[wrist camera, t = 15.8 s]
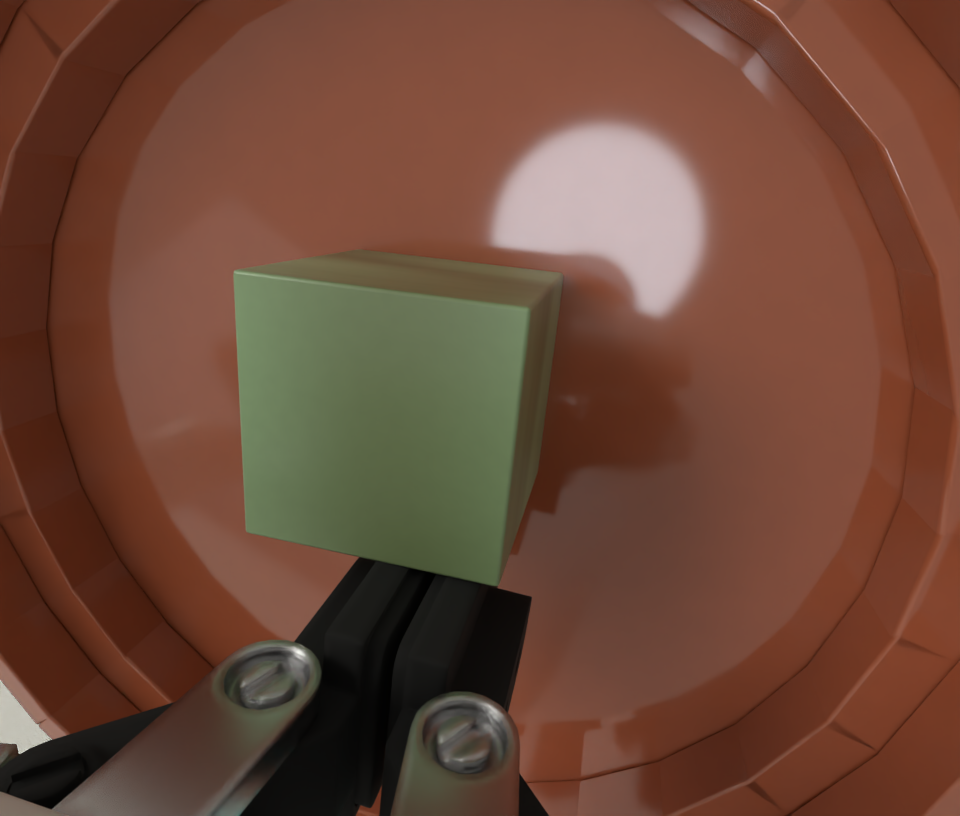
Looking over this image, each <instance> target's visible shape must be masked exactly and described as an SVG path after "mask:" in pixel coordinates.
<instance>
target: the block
mask: <svg viewBox="0 0 960 816" xmlns="http://www.w3.org/2000/svg"><path fill="white" fill-rule="evenodd" d="M563 278H564V276H563V274H562V273H558V272H550V271H541V270H533V269H524V268H516V267H507V266H498V265H490V264H481V263H473V262H464V261H455V260H447V259H438V258H430V257H421V256H412V255H404V254H395V253H387V252H378V251H370V250H361V249H357V250H351V251H345V252H339V253H333V254H327V255H321V256H315V257H309V258H303V259H297V260H291V261H285V262H279V263H273V264H267V265H261V266H255V267H249V268H243V269H238V270H235V271H234V273H233V279H234V299H235V319H236V340H237V360H238V381H239V401H240V422H241V442H242V463H243V483H244V504H245V524H246V532H248V533H251V534H255V535H260V536H264V537H269V538H274V539H278V540H283V541H288V542H292V543H297V544H301V545H306V546H311V547H315V548H320V549H324V550H329V551H334V552H338V553H343V554H347V555H352V556H357V557H361V558H366V559H370V560H375V561H380V562H384V563H389V564H393V565H398V566H403V567H407V568H412V569H416V570H421V571H426V572H430V573H435V574H439V575H444V576H449V577H453V578H458V579H462V580H467V581H472V582H476V583H481V584H485V585H490V586H498V585H499V584H500V581H501V578H502V575H503V573H504V570H505V567H506V564H507V561H508V558H509V555H510V552H511V549H512V546H513V543H514V540H515V537H516V534H517V531H518V528H519V525H520V523H521V520H522V517H523V514H524V511H525V508H526V505H527V502H528V499H529V496H530V493H531V490H532V487H533V484H534V481H535V478H536V475H537V473H538V466H539V459H540V451H541V444H542V436H543V429H544V421H545V413H546V406H547V398H548V391H549V383H550V376H551V368H552V361H553V353H554V346H555V338H556V331H557V323H558V316H559V308H560V300H561V293H562V285H563Z"/></svg>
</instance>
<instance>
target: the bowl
mask: <svg viewBox="0 0 960 816" xmlns="http://www.w3.org/2000/svg"><path fill="white" fill-rule="evenodd" d="M357 249H361V250H370V251H378V252H387V253H395V254H404V255H412V256H421V257H430V258H438V259H447V260H455V261H464V262H473V263H481V264H490V265H498V266H507V267H516V268H524V269H533V270H541V271H550V272H558V273H562V274H563V276H564V278H563V285H562V293H561V300H560V308H559V316H558V323H557V331H556V338H555V346H554V353H553V361H552V368H551V376H550V383H549V391H548V398H547V406H546V413H545V421H544V429H543V436H542V444H541V451H540V459H539V466H538V473H537V475H536V478H535V481H534V484H533V487H532V490H531V493H530V496H529V499H528V502H527V505H526V508H525V511H524V514H523V517H522V520H521V523H520V525H519V528H518V531H517V534H516V537H515V540H514V543H513V546H512V549H511V552H510V555H509V558H508V561H507V564H506V567H505V570H504V573H503V575H502V578H501V581H500V584H499V585H498V587H497V588H499V589H503V590H507V591H511V592H515V593H519V594H523V595H527V596H531V597H532V601H531V607H530V612H529V618H528V623H527V629H526V634H525V639H524V644H523V649H522V654H521V659H520V664H519V668H518V673H517V677H516V681H515V686H514V690H513V694H512V698H511V702H510V707H509V711H508V713H509V714H510V715H511V717H512V719H513V721H514V723H515V725H516V726H517V728H518V733H519V740H520V772H519V773H520V775H521V776H522V777H523V779H524V780H525V782H526V783H527V785H528V786H529V788H530V789H531V790H532V792H533V793H534V795H535V796H536V798H537V799H538V800H539V802H540V803H541V805H542V806H543V808H544V809H545V810H546V812H547V813H548V815H549V816H960V0H0V680H1V681H2V683H3V684H4V685H5V686H6V687H7V689H8V690H9V691H10V692H11V694H12V695H13V696H14V697H15V699H16V700H17V701H18V702H19V703H20V705H21V706H22V707H23V708H24V710H25V711H26V712H27V713H28V714H29V716H30V717H31V718H32V719H33V721H34V722H35V723H36V724H39V727H40V728H41V729H42V730H43V731H44V732H45V733H46V734H47V735H48V736H49V737H50V738H51V739H52V740H53V739H56V738H59V737H63V736H66V735H69V734H72V733H76V732H79V731H82V730H85V729H89V728H92V727H95V726H98V725H102V724H105V723H108V722H111V721H115V720H118V719H121V718H124V717H128V716H131V715H134V714H137V713H141V712H144V711H147V710H150V709H154V708H157V707H160V706H164V705H167V704H170V703H173V702H176V701H177V700H178V699H179V698H181V697H182V696H183V695H184V694H185V693H186V692H187V691H189V690H190V689H191V688H192V687H193V686H194V685H195V684H197V683H198V682H199V681H200V680H201V679H202V678H204V677H205V676H206V675H207V674H208V673H209V672H210V671H212V670H213V669H214V668H215V667H216V666H217V665H218V664H220V663H221V662H222V661H223V660H224V659H225V658H227V657H228V656H229V655H231V654H232V653H234V652H235V651H237V650H238V649H240V648H242V647H245V646H247V645H250V644H252V643H255V642H260V641H266V640H288V641H292V642H294V641H295V640H296V638H297V637H298V636H299V635H300V633H301V632H302V631H303V629H304V628H305V627H306V625H307V624H308V623H309V622H310V620H311V619H312V618H313V616H314V615H315V614H316V612H317V611H318V610H319V609H320V607H321V606H322V605H323V603H324V602H325V601H326V599H327V598H328V597H329V595H330V594H331V593H332V592H333V590H334V589H335V588H336V586H337V585H338V584H339V582H340V581H341V580H342V579H343V577H344V576H345V575H346V573H347V572H348V571H349V569H350V568H351V567H352V566H353V564H354V563H355V562H356V560H357V559H358V558H359V557H357V556H352V555H347V554H343V553H338V552H334V551H329V550H324V549H320V548H315V547H311V546H306V545H301V544H297V543H292V542H288V541H283V540H278V539H274V538H269V537H264V536H260V535H255V534H251V533H248V532H246V524H245V504H244V483H243V463H242V442H241V422H240V401H239V381H238V360H237V340H236V319H235V299H234V279H233V273H234V271H235V270H238V269H243V268H249V267H255V266H261V265H267V264H273V263H279V262H285V261H291V260H297V259H303V258H309V257H315V256H321V255H327V254H333V253H339V252H345V251H351V250H357ZM381 790H382V786H381V788H380V791H379V793H378V795H377V798H376V800H375V802H374V804H373V806H372V807H371V808H367V807H364V806H361V805H360V808H359V810H358V812H357V814H356V816H379V811H380V801H381Z"/></svg>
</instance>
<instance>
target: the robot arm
mask: <svg viewBox="0 0 960 816" xmlns="http://www.w3.org/2000/svg"><path fill="white" fill-rule="evenodd" d="M497 587H498V586H490V585H485V584H481V583H476V582H472V581H467V580H462V579H458V578H453V577H449V576H444V575H439V574H435V573H430V572H426V571H421V570H416V569H412V568H407V567H403V566H398V565H393V564H389V563H384V562H380V561H375V560H370V559H366V558H361V557H359V558H358V559H357V560H356V562H355V563H354V564H353V566H352V567H351V568H350V569H349V571H348V572H347V573H346V575H345V576H344V577H343V579H342V580H341V581H340V582H339V584H338V585H337V586H336V588H335V589H334V590H333V592H332V593H331V594H330V595H329V597H328V598H327V599H326V601H325V602H324V603H323V605H322V606H321V607H320V609H319V610H318V611H317V612H316V614H315V615H314V616H313V618H312V619H311V620H310V622H309V623H308V624H307V625H306V627H305V628H304V629H303V631H302V632H301V633H300V635H299V636H298V637H297V638H296V640H295V641H294V642H292V641H288V640H266V641H260V642H255V643H252V644H250V645H247V646H245V647H242V648H240V649H238V650H237V651H235V652H234V653H232V654H231V655H229V656H228V657H227V658H225V659H224V660H223V661H222V662H221V663H220V664H218V665H217V666H216V667H215V668H214V669H213V670H212V671H210V672H209V673H208V674H207V675H206V676H205V677H204V678H202V679H201V680H200V681H199V682H198V683H197V684H195V685H194V686H193V687H192V688H191V689H190V690H189V691H187V692H186V693H185V694H184V695H183V696H182V697H181V698H179V699H178V700H177V701H176V702H173V703H170V704H167V705H164V706H160V707H157V708H154V709H150V710H147V711H144V712H141V713H137V714H134V715H131V716H128V717H124V718H121V719H118V720H115V721H111V722H108V723H105V724H102V725H98V726H95V727H92V728H89V729H85V730H82V731H79V732H76V733H72V734H69V735H66V736H63V737H59V738H56V739H53V740H50V741H47V742H45V743H42V744H40V745H37V746H35V747H33V748H30V749H28V750H27V751H25V752H23V753H22V754H18V749H17V744H5V743H0V816H356V814H357V812H358V810H359V808H360V805H361V806H364V807H367V808H371V807H372V806H373V804H374V802H375V800H376V798H377V795H378V793H379V791H380V788H381V786H382V790H381V801H380V811H379V816H549V815H548V813H547V812H546V810H545V809H544V808H543V806H542V805H541V803H540V802H539V800H538V799H537V798H536V796H535V795H534V793H533V792H532V790H531V789H530V788H529V786H528V785H527V783H526V782H525V780H524V779H523V777H522V776H521V775H520V773H519V772H520V740H519V733H518V728H517V726H516V725H515V723H514V721H513V719H512V717H511V715H510V714H509V713H508V711H509V707H510V702H511V698H512V694H513V690H514V686H515V681H516V677H517V673H518V668H519V664H520V659H521V654H522V649H523V644H524V639H525V634H526V629H527V623H528V618H529V612H530V607H531V601H532V597H531V596H527V595H523V594H519V593H515V592H511V591H507V590H503V589H499V588H497Z"/></svg>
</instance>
